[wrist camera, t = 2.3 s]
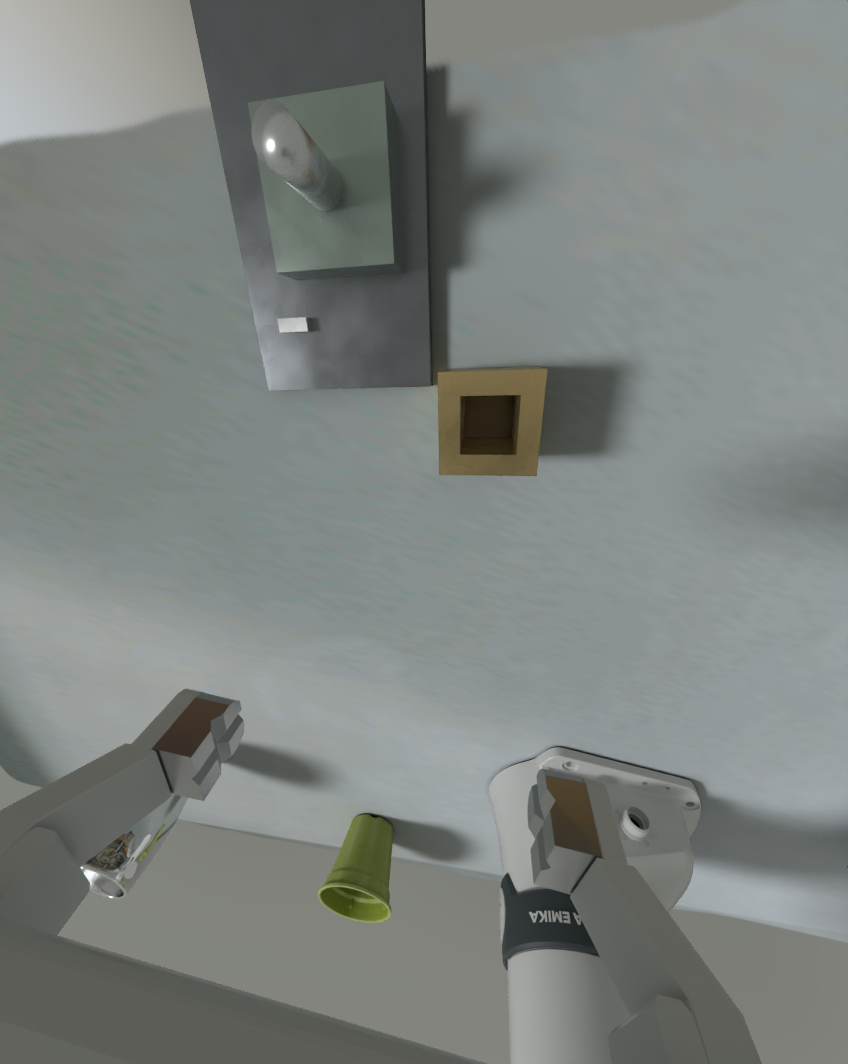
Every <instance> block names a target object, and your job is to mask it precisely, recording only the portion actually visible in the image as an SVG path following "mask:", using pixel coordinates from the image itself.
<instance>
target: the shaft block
mask: <svg viewBox="0 0 848 1064" xmlns="http://www.w3.org/2000/svg"><path fill="white" fill-rule="evenodd" d="M190 4H191V8H192V14H193V19H194V23H195V29H196V34H197V38H198V43H199V48H200V53H201V58H202V63H203V68H204V73H205V78H206V83H207V88H208V93H209V97H210V102H211V108H212V113H213V117H214V122H215V127H216V132H217V137H218V142H219V147H220V152H221V157H222V162H223V167H224V172H225V177H226V182H227V187H228V192H229V196H230V201H231V206H232V211H233V216H234V221H235V226H236V231H237V236H238V241H239V246H240V251H241V256H242V261H243V266H244V271H245V276H246V280H247V285H248V290H249V295H250V300H251V305H252V310H253V315H254V320H255V325H256V330H257V335H258V340H259V345H260V350H261V355H262V359H263V364H264V369H265V374H266V379H267V384H268V389H269V390H298V389H340V388H381V387H422V386H432V385H433V373H432V326H431V279H430V231H429V184H428V137H427V90H426V46H425V45H426V44H425V43H426V42H425V0H190Z"/></svg>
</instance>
